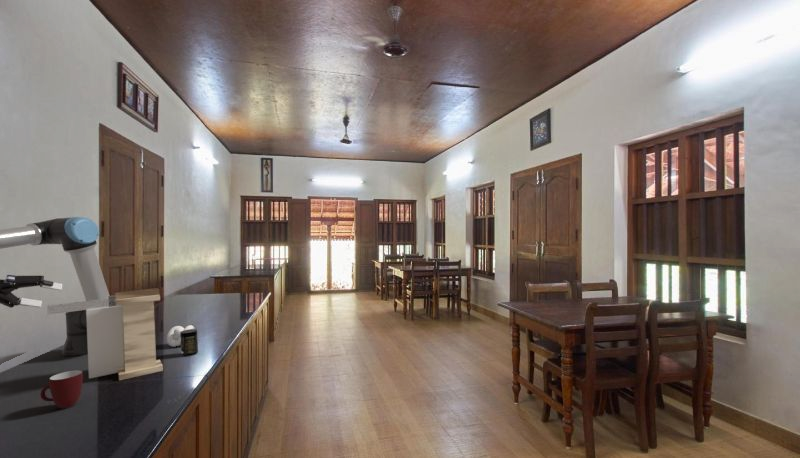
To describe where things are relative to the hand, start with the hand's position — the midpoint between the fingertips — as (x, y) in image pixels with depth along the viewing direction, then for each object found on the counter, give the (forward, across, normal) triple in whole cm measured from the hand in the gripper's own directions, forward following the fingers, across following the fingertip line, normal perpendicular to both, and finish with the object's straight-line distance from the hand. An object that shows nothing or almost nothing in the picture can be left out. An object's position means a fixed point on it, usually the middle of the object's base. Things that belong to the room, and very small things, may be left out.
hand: (51, 295), depth 152 cm
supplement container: (+46, +16, -29) cm, 57 cm away
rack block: (+21, +2, -32) cm, 38 cm away
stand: (+26, +14, -37) cm, 47 cm away
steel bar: (+7, +12, -11) cm, 18 cm away
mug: (0, +16, -51) cm, 53 cm away
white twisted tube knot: (+53, +3, -18) cm, 56 cm away
